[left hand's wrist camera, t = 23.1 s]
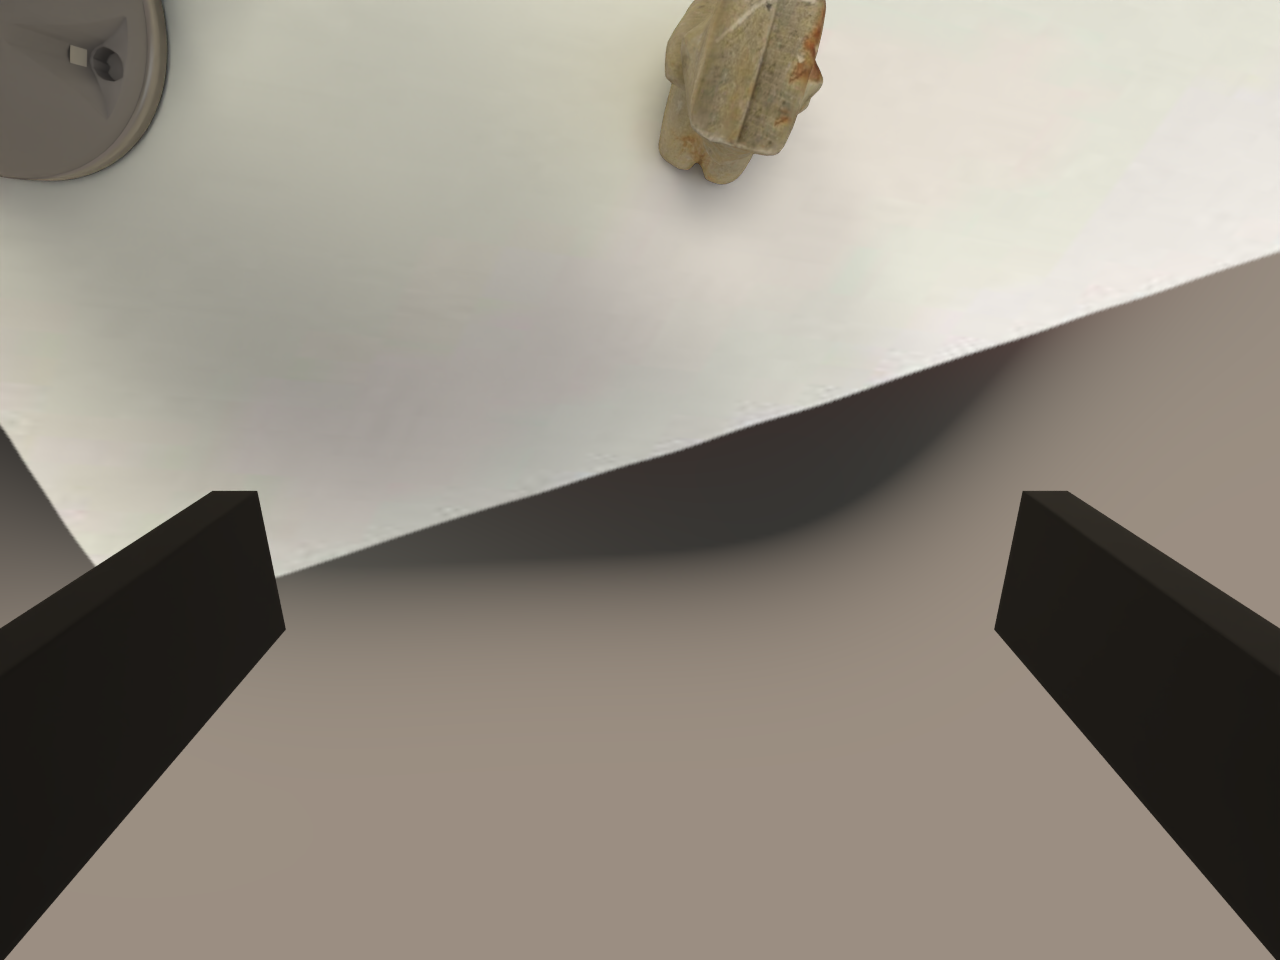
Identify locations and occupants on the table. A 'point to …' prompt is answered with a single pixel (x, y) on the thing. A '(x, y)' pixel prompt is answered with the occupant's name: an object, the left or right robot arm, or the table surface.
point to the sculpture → (738, 81)
